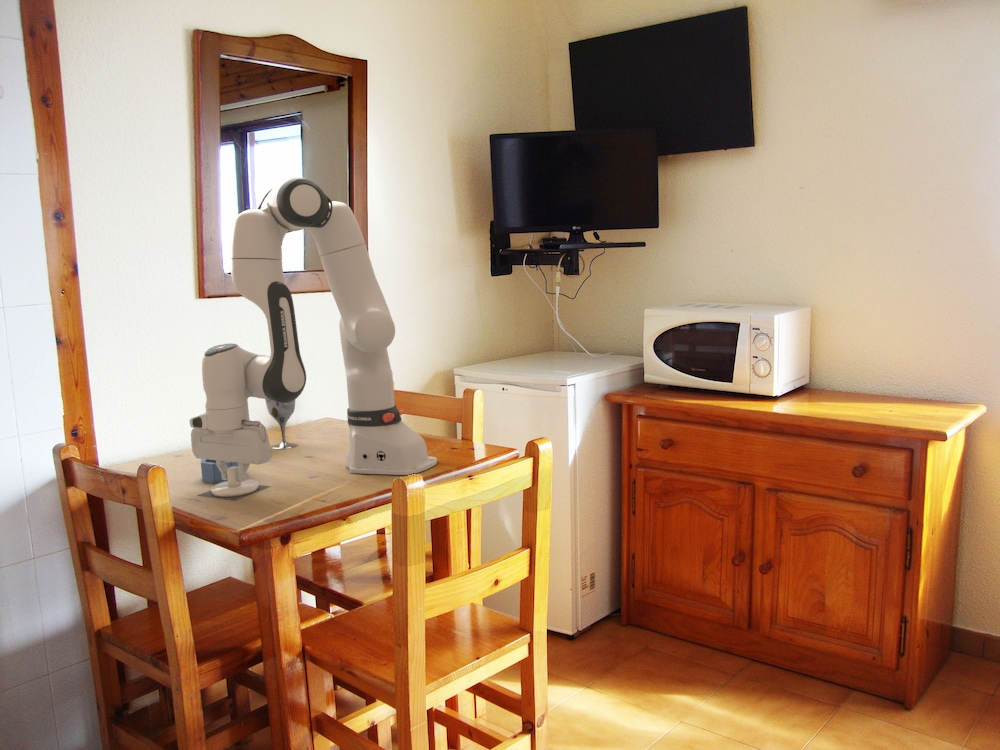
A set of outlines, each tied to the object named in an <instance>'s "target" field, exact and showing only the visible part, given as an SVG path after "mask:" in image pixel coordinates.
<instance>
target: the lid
mask: <svg viewBox="0 0 1000 750" xmlns="http://www.w3.org/2000/svg"><path fill="white" fill-rule="evenodd" d="M226 470H227V479H228V481H226V482H222V483H215V485H213V486H211V488H210V490H211V493H212V495H214V496H218V497H232V496H240V495H244V494H248V493H251V492H254V491H256V490H257V489H258V488H259V485H260V484H259V481H257V480H255V479H249V478H247V479H246V481H243V482H238V481H236V475H235V474H237V473H239V470H240V467H237V466H235V467H229V468H227V469H226Z"/></svg>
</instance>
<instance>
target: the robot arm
mask: <svg viewBox="0 0 1000 750" xmlns="http://www.w3.org/2000/svg"><path fill="white" fill-rule="evenodd" d="M301 230H306V231H307V232H308V233H309V234H310V235H311V236H312V238H313V240H314V242H315V245H316V249H317V252H318V255H319V258H320V262H321V265H322V268H323V272H324V274H325V278H326V282H327V284H328V287H329V290H330V292H331V295H332V297H333V299H334V301H335V303H336V307H337V309H338V311H339V314H340V320H339V335H340V345H341V351H342V358H343V359H342V360H343V364H344V370H345V376H346V388H347V390H346V391H347V400H348V401H347V402H348V408H347V410H346V414H347V416H346V417H347V424H348V428H349V443H348V444H349V445H348V452H347V458H346V459H347V460H346V464H345V466H346V468H347V469H349V473H350V474H364V475H365V474H366V475H369V474H370V475H391V476H393V475H395V476H410V475H414V474H418V473H421V472H424V471H427V470H429V469H431V468H433V467H434V466H436V465H437V464H438V459H437V457H436V456H431V455H428V448H427V445H426V441H425V439H424V438H423V437H422V436H421V435H420V434H418V433H417V432H416V431H415V430H414V429H412V428H411V427H410V426H409V425H407V424H406V423H405V422H404V421H402V416H403V415H405V413H406V412H404V411H405V408H403V409H401V410H399V409H398V407H397V406H396V404H395V393H394V390H395V389H394V379H393V378H394V377H393V376H394V373H393V371H392V367H391V363H390V357H389V351H388V347H389V346H390V345H391V344H392V343H393V341H394V339H395V335H396V325H395V323H394V320H393V317H392V315H391V312H390V310H389V306H388V304H387V301H386V299H385V296H384V294H383V292H382V289H381V287H380V284H379V282H378V279H377V277H376V275H375V271H374V267H373V265H372V262H371V259H370V254H369V252H368V248H367V244H366V241H365V238H364V235H363V232H362V230H361V228H360V225H359V223H358V221H357V218H356V216H355V214H354V212H353V210H352V209H351V207H350V206H349V205H348V204H347V203H345V202H342V201H339V200H338V201H337V200H336V201H332V199H331V198H329V196H328V195H326V193H325V192H324V191H323V189H322V188H321V186H319V185H318V184H317V183H315V182H314V181H312V180H311V179H308V178H304V177H293V178H292V177H291V178H290V179H288V180H284V181H281V182H279V183H278V184H276V185H275V186H274V187H273V188H271V189H270V190H269V191H268V192H267V193H266V194H265V195H264V197H263V198H262V200H261V202H260V204H259V205H258V208H253V209H252V208H251V209H246V210H244V211H242V212H240V213H239V214H237V216H236V217H235V219H234V223H233V227H232V232H231V233H232V235H231V242H230V275H231V281H232V285H233V287H234V289H236V291H237V293H239V295H241V296H242V297H243V298H245V299H246V300H248V301H250V302H252V303H253V304H255V306H257V307H258V309H259V308H260V310H261V311H262V312H263V314H264V315H265V318H266V322H267V331H268V336H269V337H268V338H269V339H268V340H269V347H270V355H265V354H264V355H263V354H257V353H254V352H250V351H248V350H247V349H246V350H245V349H243V348H242V347H240V346H239V345H238V344H237V343H233V342H232V343H224V344H218V345H214V346H211V347H210V348H208V349H207V350H206V351H205V352H204V354H203V357H202V365H201V373H202V375H201V376H202V377H201V378H202V383H203V384H202V388H203V391H204V393H205V397H206V398H205V399H206V401H205V405H204V406H205V412H204V413H202V414H199V415H196V416H193V417H191V418H190V419H189V426H190V428H192V430H191V432H190V442H191V450H192V454H193V456H194V457H195V458H196V459H199V460H201V459H208V460H216V465H217V467H218V469H219V470H220V472H221V475H222V480H228V479H227V470H226V469H227V468H228V467H227V464H226V463H228V462H238V467H240V470H239V473H237V474H235V475H236V481H238V482H243V481H246V479H248V478H247V472H248V471H249V470H248V469H249V467H250V466H251V464H252V465H263V464H265V463H268V462H270V460H271V459H272V456H273V455H272V448H271V444H270V439H269V436H268V432H267V428H266V426H265V425H264V424H263V423H262V422H261V421H259V420H250V412H249V403H248V399H249V398H250V397H251V398H257V399H264V400H265V399H270V400H273V401H277V402H281V403H289V402H292V401H294V400H295V401H296V399H298V398H299V396H300V395H301V394H302V392H303V391H304V388H305V387H306V384H307V371H306V368H305V365H304V362H303V359H302V355H301V351H300V344H299V343H300V342H299V336H298V329H297V328H298V327H297V319H296V312H295V306H294V300H293V296H292V293H291V290H290V289H289V287H288V286H287V283H286V280H285V277H284V270H283V250H282V246H283V240H284V238H285V236H286V234H288V233H292V232H297V231H301ZM413 473H414V474H413Z"/></svg>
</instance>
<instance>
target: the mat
mask: <svg viewBox="0 0 1000 750" xmlns="http://www.w3.org/2000/svg"><path fill="white" fill-rule="evenodd" d="M258 485H259V488H258V489H257V490H256V491H254V492H251V493H248V494H244V495H240V496H232V497H218V496H214V495H212V493H211V489H210V490H208V491H205V492H203V493H202V492H201V493H200V494H197V497H204V498H213V499H219V500H226V501H234V502H235V501H238V500H239V499H242V498H245V497H248V496H250V495H253V494H255V493H257V492H260V491H263V490H266V489H268V488H270V487H271V486H270V485H264V484H263V485H262V484H258Z"/></svg>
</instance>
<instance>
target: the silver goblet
mask: <svg viewBox="0 0 1000 750" xmlns="http://www.w3.org/2000/svg"><path fill="white" fill-rule="evenodd" d="M264 401H265V405H266V409H267V412H268V414H269V415H270V416H271V417H272V418H273V420H275V421H276V422H277V423H278V425H279V427H280V431H281V438H282V439H281V442H280V443H276V444H273V445H272V446H270V448H271V450H287V449H291V448H292V449H294V448H295V447H297V446H298V445H299V444H298V443H296V442H289V441H287V440H286V425H287V422H288V421H289V419H291V417H292V415H293V413H294V412H295V409H296V399H295V400H294V401H292V402H289V403H281V402H277V401H273V400H270V399H264Z"/></svg>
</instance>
